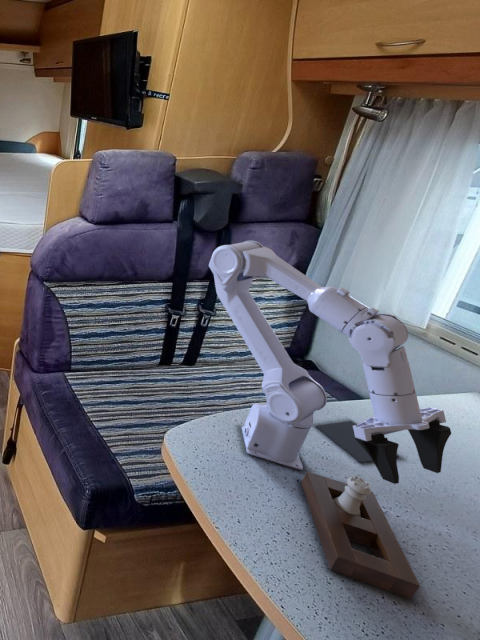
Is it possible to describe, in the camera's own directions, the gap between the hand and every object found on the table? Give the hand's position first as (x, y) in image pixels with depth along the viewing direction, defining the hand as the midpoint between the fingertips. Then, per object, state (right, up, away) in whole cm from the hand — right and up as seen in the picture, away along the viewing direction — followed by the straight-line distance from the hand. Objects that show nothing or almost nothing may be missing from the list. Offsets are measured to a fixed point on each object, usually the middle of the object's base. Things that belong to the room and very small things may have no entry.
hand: (411, 475), depth 74 cm
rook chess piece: (-7, -10, +5) cm, 13 cm away
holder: (-8, -11, +2) cm, 14 cm away
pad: (+10, -4, +23) cm, 25 cm away
